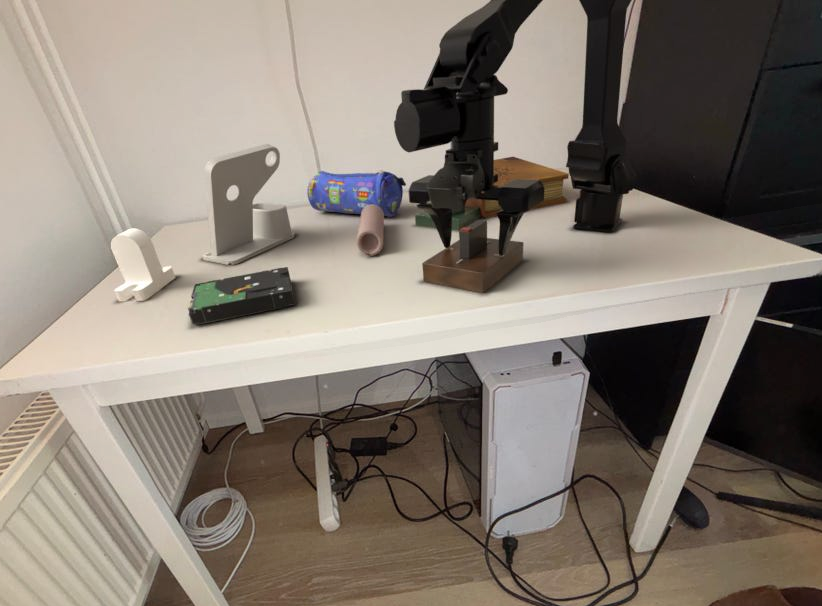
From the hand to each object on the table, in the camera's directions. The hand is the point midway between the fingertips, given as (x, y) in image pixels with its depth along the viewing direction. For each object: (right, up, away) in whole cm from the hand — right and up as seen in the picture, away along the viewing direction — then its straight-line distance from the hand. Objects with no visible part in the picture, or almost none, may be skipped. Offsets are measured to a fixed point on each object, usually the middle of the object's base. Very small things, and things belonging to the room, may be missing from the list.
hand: (473, 250), depth 73 cm
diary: (+12, +19, +34) cm, 41 cm away
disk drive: (-35, -8, +1) cm, 36 cm away
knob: (0, 0, 0) cm, 0 cm away
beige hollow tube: (-16, +6, +20) cm, 26 cm away
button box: (-1, +11, +24) cm, 26 cm away
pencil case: (-19, +16, +37) cm, 44 cm away
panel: (0, -3, +2) cm, 3 cm away
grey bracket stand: (-40, +6, +25) cm, 48 cm away
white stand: (-54, -4, +11) cm, 56 cm away
